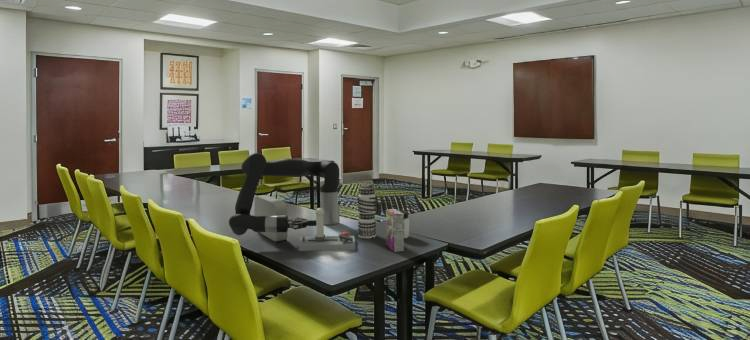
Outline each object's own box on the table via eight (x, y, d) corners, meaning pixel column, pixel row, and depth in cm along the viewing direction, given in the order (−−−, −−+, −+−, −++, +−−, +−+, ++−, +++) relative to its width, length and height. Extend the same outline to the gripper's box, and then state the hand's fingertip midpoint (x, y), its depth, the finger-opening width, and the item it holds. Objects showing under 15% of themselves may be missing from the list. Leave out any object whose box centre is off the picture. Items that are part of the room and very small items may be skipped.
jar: (388, 238, 220) (388, 213, 219) (393, 234, 228) (392, 209, 227) (407, 239, 218) (407, 214, 216) (410, 235, 225) (411, 210, 224)
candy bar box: (385, 245, 208) (385, 209, 206) (396, 244, 209) (396, 208, 207) (393, 252, 197) (393, 214, 195) (404, 251, 199) (404, 213, 197)
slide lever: (325, 238, 210) (324, 207, 208) (324, 240, 205) (324, 208, 204) (316, 238, 209) (315, 207, 208) (315, 240, 205) (314, 209, 203)
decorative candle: (374, 233, 230) (374, 182, 227) (378, 238, 221) (378, 185, 218) (356, 234, 228) (355, 183, 225) (359, 239, 219) (358, 186, 216)
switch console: (354, 241, 216) (354, 232, 215) (355, 249, 202) (355, 240, 201) (301, 242, 214) (301, 233, 214) (298, 251, 200) (298, 241, 200)
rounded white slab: (292, 240, 218) (291, 202, 216) (276, 242, 214) (275, 203, 211) (269, 228, 241) (268, 193, 239) (255, 230, 237) (254, 195, 235)
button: (346, 235, 214) (345, 231, 214) (351, 237, 212) (351, 232, 212) (339, 237, 212) (339, 232, 212) (345, 238, 209) (345, 234, 209)
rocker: (351, 240, 206) (352, 237, 206) (351, 242, 203) (352, 239, 203) (338, 236, 206) (339, 233, 206) (338, 239, 202) (339, 235, 202)
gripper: (274, 218, 198) (315, 217, 200) (278, 212, 212) (317, 211, 213) (274, 236, 199) (315, 235, 200) (279, 228, 212) (317, 227, 214)
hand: (316, 223), depth 207 cm, fingers closed
